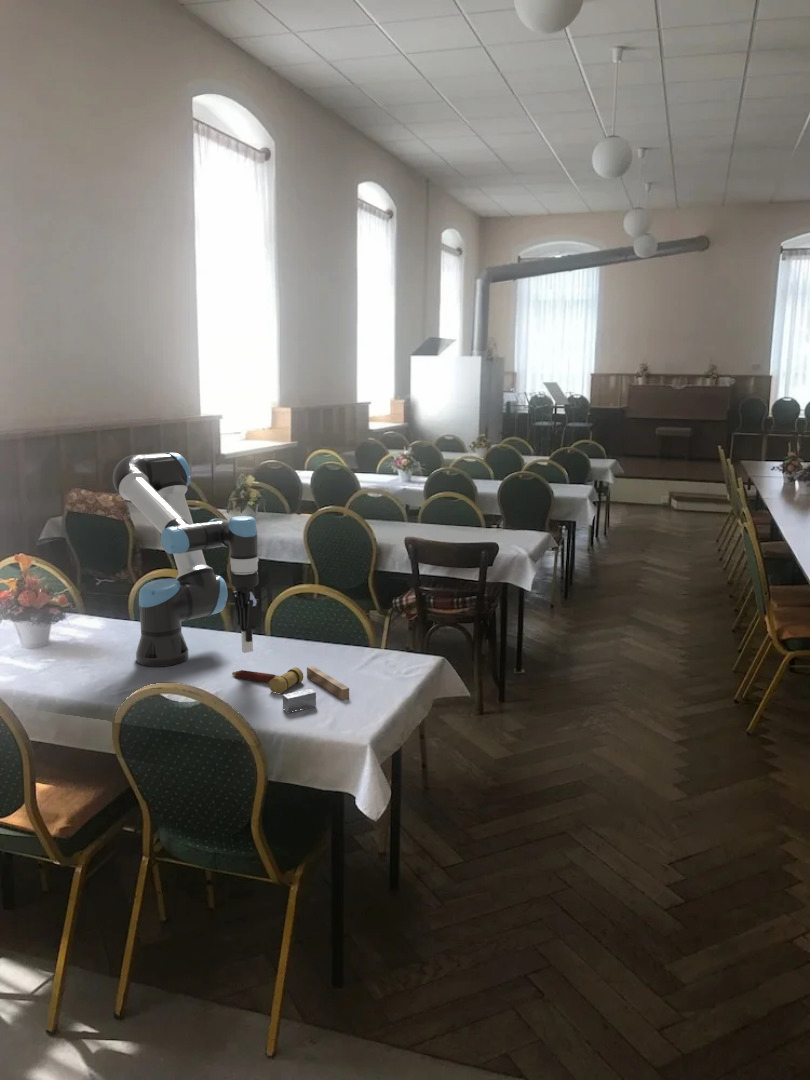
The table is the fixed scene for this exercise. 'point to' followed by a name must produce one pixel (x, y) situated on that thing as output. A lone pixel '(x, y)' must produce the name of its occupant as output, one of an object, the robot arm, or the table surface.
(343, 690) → the walnut fence
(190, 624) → the table surface
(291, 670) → the gavel
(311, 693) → the block
